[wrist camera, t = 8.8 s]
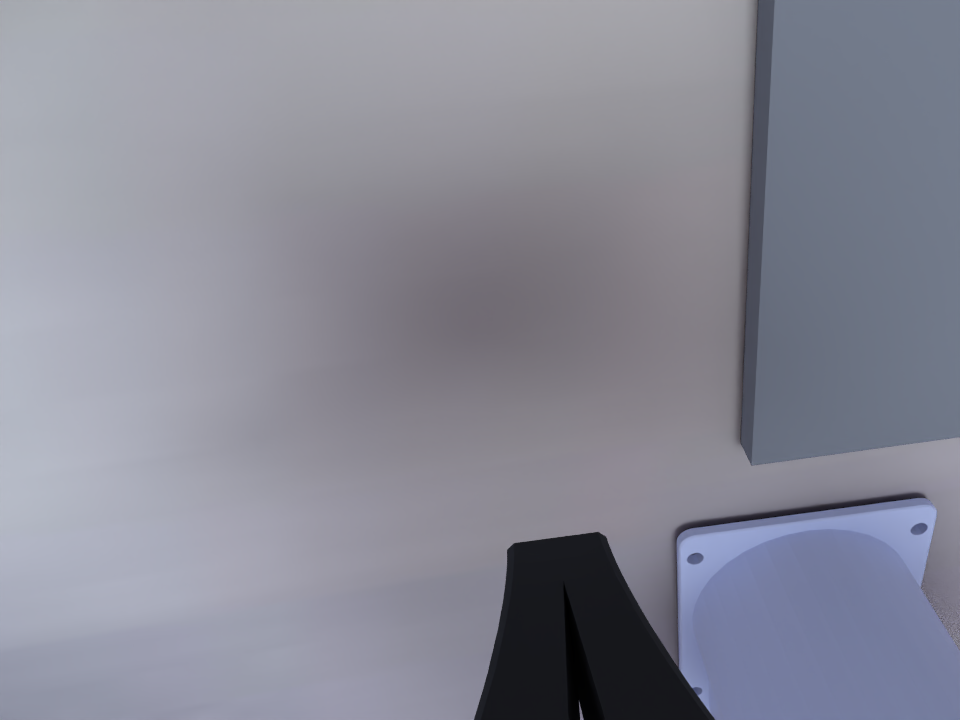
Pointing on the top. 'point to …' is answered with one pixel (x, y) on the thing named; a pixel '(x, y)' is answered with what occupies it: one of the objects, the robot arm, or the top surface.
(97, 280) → the top surface
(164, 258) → the top surface
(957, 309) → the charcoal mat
